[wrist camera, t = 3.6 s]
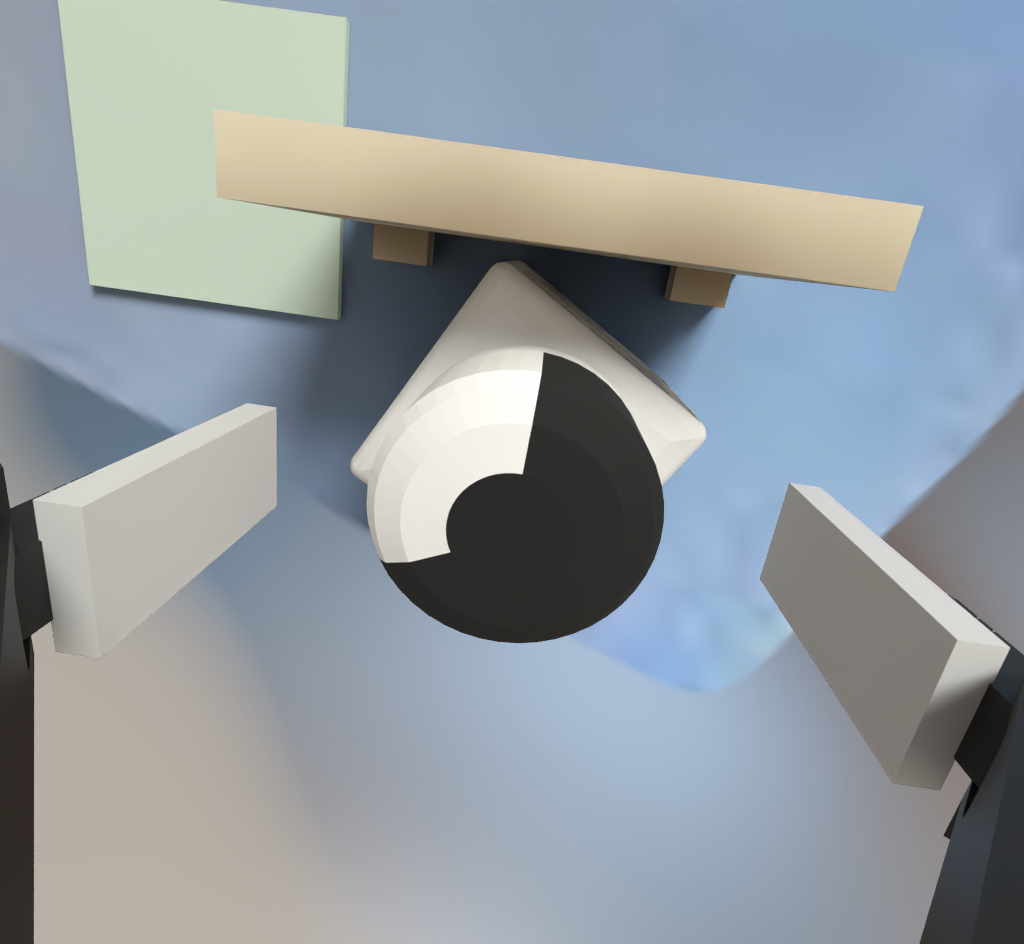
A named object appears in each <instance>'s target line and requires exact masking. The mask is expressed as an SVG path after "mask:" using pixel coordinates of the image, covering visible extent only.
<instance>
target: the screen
mask: <svg viewBox="0 0 1024 944" xmlns="http://www.w3.org/2000/svg"><path fill="white" fill-rule="evenodd" d="M214 135H215V160H216V186H217V197H219V198H225V199H231V200H236V201H242V202H248V203H254V204H260V205H266V206H272V207H277V208H283V209H289V210H295V211H301V212H307V213H312V214H318V215H324V216H330V217H336V218H342V219H348V220H353V221H359V222H365V223H371V224H374V236H373V258H372V259H378V260H386V261H393V262H400V263H407V264H414V265H421V266H432V264H433V252H434V239H435V232H436V233H443V234H450V235H457V236H464V237H472V238H479V239H486V240H493V241H500V242H507V243H515V244H522V245H529V246H536V247H543V248H550V249H558V250H565V251H572V252H579V253H586V254H593V255H601V256H608V257H615V258H622V259H629V260H636V261H644V262H651V263H658V264H665V265H671V268H670V273H669V277H668V282H667V287H666V292H665V296H664V298H665V299H667V300H670V301H677V302H685V303H692V304H699V305H706V306H713V307H720V308H725V304H726V300H727V296H728V292H729V288H730V284H731V280H732V276H733V274H737V275H746V276H755V277H764V278H773V279H782V280H792V281H801V282H810V283H819V284H828V285H838V286H847V287H856V288H865V289H874V290H884V291H893V292H895V289H896V286H897V283H898V280H899V277H900V274H901V272H902V269H903V266H904V263H905V260H906V257H907V254H908V251H909V248H910V245H911V242H912V239H913V236H914V233H915V231H916V228H917V225H918V222H919V219H920V216H921V213H922V210H923V207H924V206H918V205H911V204H904V203H896V202H889V201H882V200H875V199H867V198H860V197H853V196H845V195H838V194H831V193H824V192H816V191H809V190H802V189H794V188H787V187H780V186H773V185H765V184H758V183H751V182H743V181H736V180H729V179H722V178H714V177H707V176H700V175H692V174H685V173H678V172H671V171H663V170H656V169H649V168H641V167H634V166H627V165H620V164H612V163H605V162H598V161H590V160H583V159H576V158H569V157H561V156H554V155H547V154H539V153H532V152H525V151H518V150H510V149H503V148H496V147H488V146H481V145H474V144H467V143H459V142H452V141H445V140H437V139H430V138H423V137H416V136H408V135H401V134H394V133H386V132H379V131H372V130H365V129H357V128H350V127H343V126H335V125H328V124H321V123H314V122H306V121H299V120H292V119H284V118H277V117H270V116H263V115H255V114H248V113H241V112H233V111H226V110H219V109H214Z"/></svg>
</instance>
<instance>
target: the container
mask: <svg viewBox="0 0 1024 944" xmlns="http://www.w3.org/2000/svg"><path fill="white" fill-rule="evenodd" d="M705 438H706V429H705V427H704V426H703V424H702V423H701V422H700V421H699V420H698V419H697V417H696V416H695V415H694V414H693V413H692V412H691V411H690V410H689V408H688V407H687V406H686V405H685V404H684V403H683V402H682V400H681V399H680V398H679V397H678V396H677V395H676V394H675V393H674V391H673V390H672V389H671V388H670V387H669V386H668V385H667V384H666V382H665V381H664V380H663V379H662V378H661V377H660V376H659V375H658V374H657V373H655V372H654V371H653V370H652V369H651V368H649V367H648V366H647V365H646V364H645V363H643V362H642V361H641V360H640V359H639V358H637V357H636V356H635V355H634V354H633V353H631V352H630V351H629V350H628V349H627V348H625V347H624V346H623V345H622V344H621V343H620V342H618V341H617V340H616V339H615V338H614V337H612V336H611V335H610V334H609V333H608V332H606V331H605V330H604V329H603V328H602V327H600V326H599V325H598V324H597V323H596V322H594V321H593V320H592V319H591V318H590V317H589V316H587V315H586V314H585V313H584V312H583V311H581V310H580V309H579V308H578V307H577V306H575V305H574V304H573V303H572V302H571V301H569V300H568V299H567V298H566V297H565V296H563V295H562V294H561V293H560V292H559V291H557V290H556V289H555V288H554V287H553V286H552V285H550V284H549V283H548V282H547V281H546V280H544V279H543V278H542V277H541V276H540V275H538V274H537V273H536V272H535V271H534V270H532V269H531V268H530V267H529V266H528V265H526V264H525V263H524V262H522V261H520V260H514V261H507V262H500V263H496V264H495V265H494V266H492V267H491V268H490V270H489V271H488V272H487V274H486V275H485V276H484V278H483V279H482V280H481V282H480V283H479V285H478V286H477V287H476V289H475V290H474V291H473V293H472V294H471V296H470V297H469V298H468V300H467V301H466V302H465V304H464V305H463V307H462V308H461V309H460V311H459V312H458V313H457V315H456V316H455V318H454V319H453V320H452V322H451V323H450V324H449V326H448V327H447V329H446V330H445V331H444V333H443V334H442V335H441V337H440V338H439V340H438V341H437V342H436V344H435V345H434V346H433V348H432V349H431V350H430V352H429V353H428V355H427V356H426V357H425V359H424V360H423V361H422V363H421V364H420V366H419V367H418V368H417V370H416V371H415V372H414V374H413V375H412V377H411V378H410V379H409V381H408V382H407V383H406V385H405V386H404V388H403V389H402V390H401V392H400V393H399V394H398V396H397V397H396V399H395V400H394V401H393V403H392V404H391V405H390V407H389V408H388V409H387V411H386V412H385V414H384V415H383V416H382V418H381V419H380V420H379V422H378V423H377V425H376V426H375V427H374V429H373V430H372V431H371V433H370V434H369V436H368V437H367V438H366V440H365V441H364V442H363V444H362V445H361V447H360V448H359V449H358V451H357V452H356V453H355V455H354V456H353V458H352V461H351V463H350V467H351V472H352V473H353V474H354V475H355V476H356V477H357V478H359V479H360V480H362V481H363V482H364V483H366V484H367V485H368V488H367V516H368V525H369V529H370V533H371V537H372V541H373V544H374V546H375V549H376V551H377V554H378V556H379V558H380V561H381V562H382V564H383V566H384V568H385V569H386V571H387V573H388V575H389V576H390V577H391V579H392V580H393V581H394V583H395V584H396V585H397V587H398V588H399V589H400V590H401V591H402V592H403V593H404V594H405V595H406V596H407V597H408V598H409V599H410V601H412V603H414V604H415V605H416V606H417V607H419V608H420V609H421V610H422V611H424V612H425V613H426V614H428V615H429V616H431V617H432V618H434V619H436V620H437V621H439V622H441V623H443V624H444V625H446V626H448V627H451V628H453V629H455V630H457V631H459V632H462V633H465V634H468V635H472V636H475V637H478V638H482V639H487V640H492V641H497V642H510V643H528V642H540V641H546V640H551V639H557V638H560V637H563V636H567V635H570V634H574V633H576V632H578V631H581V630H583V629H585V628H587V627H590V626H592V625H593V624H595V623H597V622H598V621H600V620H602V619H603V618H605V617H607V616H608V615H609V614H610V613H612V612H613V611H614V610H616V609H617V608H618V607H619V606H621V605H622V604H623V603H624V602H625V601H626V600H627V598H628V597H629V596H630V595H631V594H632V593H633V592H634V591H635V590H636V588H637V587H638V586H639V584H640V583H641V581H642V580H643V579H644V577H645V576H646V574H647V572H648V570H649V568H650V566H651V564H652V562H653V560H654V558H655V555H656V552H657V549H658V546H659V543H660V540H661V534H662V528H663V523H664V500H663V492H662V485H663V484H664V483H665V482H666V481H667V480H668V479H669V478H670V477H671V476H672V475H673V474H674V473H675V472H676V471H677V470H678V469H679V467H680V466H681V465H682V464H683V463H684V462H685V461H686V460H687V459H688V458H689V457H690V456H691V455H692V454H693V453H694V452H695V451H696V450H697V449H698V448H699V447H700V446H701V445H702V444H703V442H704V440H705Z"/></svg>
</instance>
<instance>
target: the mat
mask: <svg viewBox="0 0 1024 944" xmlns="http://www.w3.org/2000/svg"><path fill="white" fill-rule="evenodd" d="M58 7H59V15H60V24H61V33H62V42H63V51H64V60H65V69H66V78H67V87H68V96H69V104H70V113H71V122H72V131H73V140H74V149H75V158H76V167H77V176H78V185H79V193H80V202H81V211H82V220H83V229H84V238H85V247H86V256H87V265H88V274H89V282H90V285H95V286H103V287H110V288H117V289H124V290H131V291H138V292H145V293H152V294H159V295H166V296H173V297H180V298H187V299H194V300H201V301H208V302H215V303H222V304H229V305H236V306H243V307H250V308H257V309H264V310H271V311H278V312H285V313H293V314H300V315H307V316H314V317H321V318H328V319H335V320H339V319H341V303H342V269H343V236H344V219H342V218H336V217H330V216H324V215H318V214H312V213H307V212H301V211H295V210H289V209H283V208H277V207H272V206H266V205H260V204H254V203H248V202H242V201H236V200H231V199H225V198H219V197H217V186H216V160H215V135H214V109H219V110H226V111H233V112H241V113H248V114H255V115H263V116H270V117H277V118H284V119H292V120H299V121H306V122H314V123H321V124H328V125H335V126H343V127H347V100H348V66H349V32H350V22H349V21H348V19H347V18H345V17H337V16H330V15H322V14H315V13H308V12H300V11H293V10H285V9H278V8H270V7H263V6H255V5H248V4H241V3H233V2H226V1H218V0H58Z"/></svg>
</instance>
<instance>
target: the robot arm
mask: <svg viewBox="0 0 1024 944" xmlns="http://www.w3.org/2000/svg"><path fill="white" fill-rule="evenodd" d="M276 506H277V409H276V407H270V406H263V405H256V404H249V403H247V404H244V405H242V406H240V407H238V408H235V409H233V410H231V411H229V412H227V413H224V414H222V415H220V416H218V417H215V418H213V419H211V420H209V421H207V422H204V423H202V424H200V425H198V426H195V427H193V428H191V429H189V430H187V431H184V432H182V433H180V434H178V435H175V436H173V437H171V438H169V439H167V440H164V441H162V442H160V443H158V444H156V445H153V446H151V447H149V448H147V449H145V450H142V451H140V452H138V453H136V454H133V455H131V456H129V457H127V458H124V459H122V460H120V461H118V462H116V463H113V464H111V465H109V466H107V467H104V468H102V469H100V470H98V471H95V472H91V473H89V474H87V475H84V476H82V477H80V478H78V479H75V480H73V481H71V482H70V483H69V484H64V485H62V486H60V487H58V488H55V489H54V490H53V491H51V492H47V493H44V494H42V495H40V496H38V497H35V498H33V499H31V500H29V501H26V502H24V503H22V504H20V505H17V506H15V507H13V508H11V509H10V506H9V500H8V494H7V488H6V482H5V476H4V470H3V467H2V465H1V464H0V944H34V651H33V645H32V639H31V635H32V634H33V633H35V632H36V631H38V630H39V629H40V628H42V627H43V626H45V625H46V624H47V623H49V622H50V621H51V624H52V630H53V637H54V644H55V650H56V652H60V653H68V654H73V655H80V656H86V657H92V658H99V659H101V658H102V657H103V656H104V655H106V654H107V653H108V652H109V651H110V650H111V649H112V648H114V647H115V646H116V645H117V644H118V643H119V642H121V640H123V639H124V638H125V637H126V636H127V635H128V634H130V633H131V632H132V631H133V630H134V629H135V628H137V627H138V626H139V625H140V624H141V623H142V622H143V621H145V620H146V619H147V618H148V617H149V616H150V615H152V614H153V613H154V612H155V611H156V610H157V609H158V608H160V607H161V606H162V605H163V604H164V603H165V602H167V601H168V600H169V599H170V598H171V597H172V596H174V595H175V594H176V593H177V592H178V591H179V590H180V589H182V588H183V587H184V586H185V585H186V584H187V583H188V582H189V581H191V580H192V579H193V578H194V577H195V576H197V575H198V574H199V573H200V572H201V571H202V570H203V569H205V568H206V567H207V566H208V565H209V564H210V563H212V562H213V561H214V560H215V559H216V558H217V557H219V556H220V555H221V554H222V553H223V552H224V551H225V550H227V549H228V548H229V547H230V546H231V545H232V544H234V543H235V542H236V541H237V540H238V539H239V538H240V537H242V536H243V535H244V534H245V533H246V532H247V531H248V530H250V529H251V528H252V527H253V526H254V525H255V524H257V523H258V522H259V521H260V520H261V519H262V518H264V516H266V515H267V514H268V513H269V512H270V511H272V510H273V509H274V508H275V507H276ZM760 580H761V581H762V583H763V584H764V586H765V587H766V589H767V591H768V592H769V594H770V595H771V597H772V598H773V600H774V601H775V603H776V604H777V606H778V607H779V609H780V611H781V612H782V614H783V615H784V617H785V618H786V620H787V621H788V623H789V624H790V626H791V628H792V629H793V631H794V632H795V634H796V635H797V637H798V638H799V640H800V641H801V643H802V644H803V646H804V648H805V649H806V651H807V652H808V653H809V655H810V657H811V658H812V660H813V661H814V663H815V664H816V666H817V668H818V669H819V671H820V672H821V674H822V675H823V677H824V678H825V680H826V681H827V683H828V685H829V686H830V688H831V689H832V690H833V692H834V693H835V695H836V697H837V698H838V700H839V701H840V703H841V704H842V706H843V708H844V709H845V711H846V712H847V714H848V715H849V717H850V718H851V720H852V721H853V723H854V725H855V726H856V727H857V729H858V731H859V732H860V734H861V735H862V737H863V738H864V740H865V742H866V743H867V745H868V746H869V748H870V749H871V751H872V752H873V754H874V755H875V757H876V758H877V760H878V762H879V763H880V765H881V766H882V768H883V769H884V771H885V772H886V774H887V775H888V777H889V778H890V780H891V782H892V783H895V784H902V785H908V786H914V787H921V788H927V789H934V790H941V788H942V786H943V784H944V782H945V780H946V778H947V776H948V774H949V772H950V769H951V767H952V766H953V763H954V761H955V760H956V761H957V762H958V764H959V765H960V766H961V767H962V768H963V770H964V771H965V772H966V773H967V775H968V776H969V777H970V778H971V780H972V781H971V783H970V785H969V787H968V789H967V791H966V793H965V794H964V797H963V798H962V800H961V802H960V804H959V806H958V808H957V810H956V812H955V814H954V816H953V818H952V820H951V822H950V824H949V826H948V828H947V830H946V832H945V834H944V836H945V837H947V838H949V839H950V842H949V846H948V848H947V852H946V855H945V859H944V862H943V865H942V869H941V872H940V876H939V879H938V883H937V886H936V889H935V893H934V896H933V899H932V903H931V907H930V910H929V913H928V916H927V920H926V923H925V927H924V931H923V934H922V937H921V940H920V944H1024V655H1023V654H1021V653H1020V652H1019V651H1018V650H1017V649H1016V648H1014V647H1013V646H1012V645H1011V644H1010V643H1008V642H1007V641H1006V640H1005V639H1004V638H1003V637H1001V636H1000V635H999V634H998V633H995V632H992V630H993V629H992V628H991V627H989V626H988V625H987V624H986V623H985V622H983V621H982V620H981V619H977V616H976V615H975V614H974V613H973V612H971V611H970V610H969V609H968V608H967V607H965V606H964V605H963V604H962V603H961V602H959V601H958V600H957V599H955V598H953V597H951V596H950V595H948V594H946V593H945V592H944V591H942V590H941V589H940V588H939V587H938V586H936V585H935V584H934V583H933V582H932V581H930V580H929V579H928V578H927V577H926V576H925V575H923V574H922V573H921V572H920V571H919V570H917V569H916V568H915V567H914V566H913V565H911V564H910V563H909V562H908V561H907V560H906V559H904V558H903V557H902V556H901V555H900V554H899V553H897V552H896V551H895V550H894V549H893V548H891V547H890V546H889V545H888V544H887V543H886V542H884V541H883V540H882V539H881V538H880V537H878V536H877V535H876V534H875V533H874V532H872V531H871V530H870V529H869V528H868V527H867V526H865V525H864V524H863V523H862V522H861V521H859V520H858V519H857V518H856V517H855V516H854V515H852V514H851V513H850V512H849V511H848V510H846V509H845V508H844V507H843V506H842V505H840V504H839V503H838V502H837V501H836V500H835V499H833V498H832V497H831V496H830V495H829V494H827V493H826V492H825V491H824V490H823V489H822V488H820V487H815V486H808V485H801V484H794V483H789V486H788V489H787V492H786V496H785V499H784V502H783V505H782V509H781V512H780V515H779V518H778V522H777V525H776V528H775V531H774V535H773V538H772V541H771V544H770V547H769V551H768V554H767V557H766V560H765V564H764V567H763V570H762V573H761V577H760Z"/></svg>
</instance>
